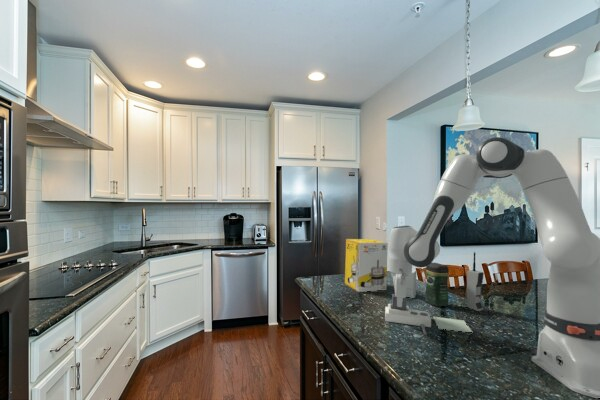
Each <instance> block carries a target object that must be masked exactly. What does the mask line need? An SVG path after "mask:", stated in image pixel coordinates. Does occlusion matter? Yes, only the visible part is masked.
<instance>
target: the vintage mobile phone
mask: <svg viewBox="0 0 600 400" xmlns="http://www.w3.org/2000/svg"><path fill="white" fill-rule="evenodd" d="M472 263H473V264H472V270H469V269H468V270H467V272H466V275H467V277H466V306H467V307H469V308H471V309H474V310H476V311H479V312H482V311H483V310H484V309H483V308H484V307H483V306H482V285H483V280H484V274H485V273H484V271H479V270H476V252H475V251H473V262H472ZM471 309H470V310H471ZM474 310H473V311H474ZM481 310H482V311H481ZM476 311H475V312H476Z"/></svg>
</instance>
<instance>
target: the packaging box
mask: <svg viewBox="0 0 600 400" xmlns="http://www.w3.org/2000/svg"><path fill="white" fill-rule="evenodd" d="M388 250H389V242H384V241H380V240H377V239H372V238H365V239H364V238H363V239H362V238H355V239H354V238H346V239H345V262H344V263H345V264H344V266H345V267H344V284H345V285H346V286H348V287H349V288H351V289H353V290H354V291H356V292H357V293H368V292H367V291H371V292H378V291H377V290H386V291H387V280H388V279H387V275H388Z"/></svg>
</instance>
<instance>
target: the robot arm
mask: <svg viewBox="0 0 600 400" xmlns="http://www.w3.org/2000/svg"><path fill="white" fill-rule="evenodd" d="M475 154H476V155H472V154H468V153H467V154H466V153H462V154H457V156H455V157H454V158H453V159H452V161H451V162H450V163H449V165H447V168H446V169H445V170H444V172H443V174H442V176H441V177H440V178H441V179H440V180H439V183H438V185H437V187H436V190H435V192H434V197H433V200H432V202H431V206H430V209H429V210H428V213H427V215H426V217H425V218H424V220H423V222H422V225H421V226H420V228H419V230H416V229H414V228H413V227H412V226H410V225H401V226H400V225H399V226H395V227H393V228H392V229H391V230H390V233H389V238H388V250H389V255H388V257H387V271H389V272H390V275H391V276H392V283H393V287H394V289H393V290H394V294H395V296H396V297H397V306H398V307H402V301H403V298H405V297H406V277H408V274H410V273H412V270H413V266H414V267H416V268H426V266H428V265H430V264H431V263H433V261H434V260H435V259H436V258H437V257H438V256H439V255H440V251H441V250H440V249H441V248H440V244H439V242H438V241H437V240H438V238H439V237H440V234H441V232H442V230H443V229H444V226H445V224H446V223H447V221H448V220H449V219H450V218H451V217H452V216H453V215H454V214H455V213H456V212H457V211H459V210H460V209H462V208H463V206H464V205H465V204H466V203H467V201H468V200H469V198H470V197H471V195H472V194H473V191H474V190H475V187H476V186H477V183H478V182H479V181H480V180H481V178H494V179H502V178H503V179H505V178H509V177H511V176H515V177H516V178H517V180H518V182H519V184H520V186H521V189H522V191H523V193H524V196H525V198H526V200H527V204H528V205H529V208H530V210H531V213H532V216H533V219H534V222H535V227H536V230H537V235H538V238H539V240H540V244H541V246H542V249H543V254H544V256H545V258H546V259H547V260H548V261H549V262H550V266H549V267H550V268H549V274H548V280H547V283H546V284H547V285H546V287H547V288H546V310H545V311H544V316H543V319H544V324H545V326H544V328H543V329H542V330H540V332H539V333H538V340H537V348H536V349H537V350H536V355H532V356H531V361H532V362H533V363H534V364H535V365H537V366H538V367H540V368H541V369H542V370H544V371H545V372H546V373H548V374H549V375H550V376H552V377H553V378H555V379H556V380H557V381H558V382H560V383H561V384H563V385H564V386H566V387H567V388H568V389H569V390H571V391H573V392H575V393H578V394H580V395H583V396H586V397H589V398H595V399H597V398H600V237H599V236H598V235H597V234H595V233H593V232H592V230H591V228H590V225H589V223H588V221H587V218H586V215H585V212H584V210H583V209H584V208H583V206H582V204H581V202H580V199H579V197H578V195H577V193H576V190H575V188H574V186H573V185H572V182H571V180H570V178H569V176H568V174H567V173H566V170H565V169H564V167H563V166H562V164H561V162H560V161H559V160H558V159H557V157H556V155H554V153H553V152H552V151H550V150H548V149H542V148H538V149H533V150H529V151H526V152H525V149H524V148H523V147H522V146H520V145H519V144H517V143H515V142H513V141H512V140H510V139H507V138H504V137H497V136H495V137H490V138H488V139H486V140H484V141H483V142H482V143H481V144H480V145H479V146H478V148H477V150H476V153H475Z"/></svg>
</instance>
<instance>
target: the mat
mask: <svg viewBox="0 0 600 400" xmlns="http://www.w3.org/2000/svg"><path fill="white" fill-rule="evenodd" d="M432 318H433V320H434V323H435V325H436V327H437V326H438V327H437V329H438V330H443V329H444V330H443V331H450V330H454V331H453V332H458V331H462V332H461V333H465V332H472V333H473V330H472V329H471V328H470V326H469V325H468V324H467V323H466V321H465V320H462V319H455V318H448V317H447V318H446V317H438V316H433V317H432ZM466 324H467V325H468V326H467V325H466ZM445 329H446V330H445ZM472 333H471V334H472ZM473 334H474V333H473Z"/></svg>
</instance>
